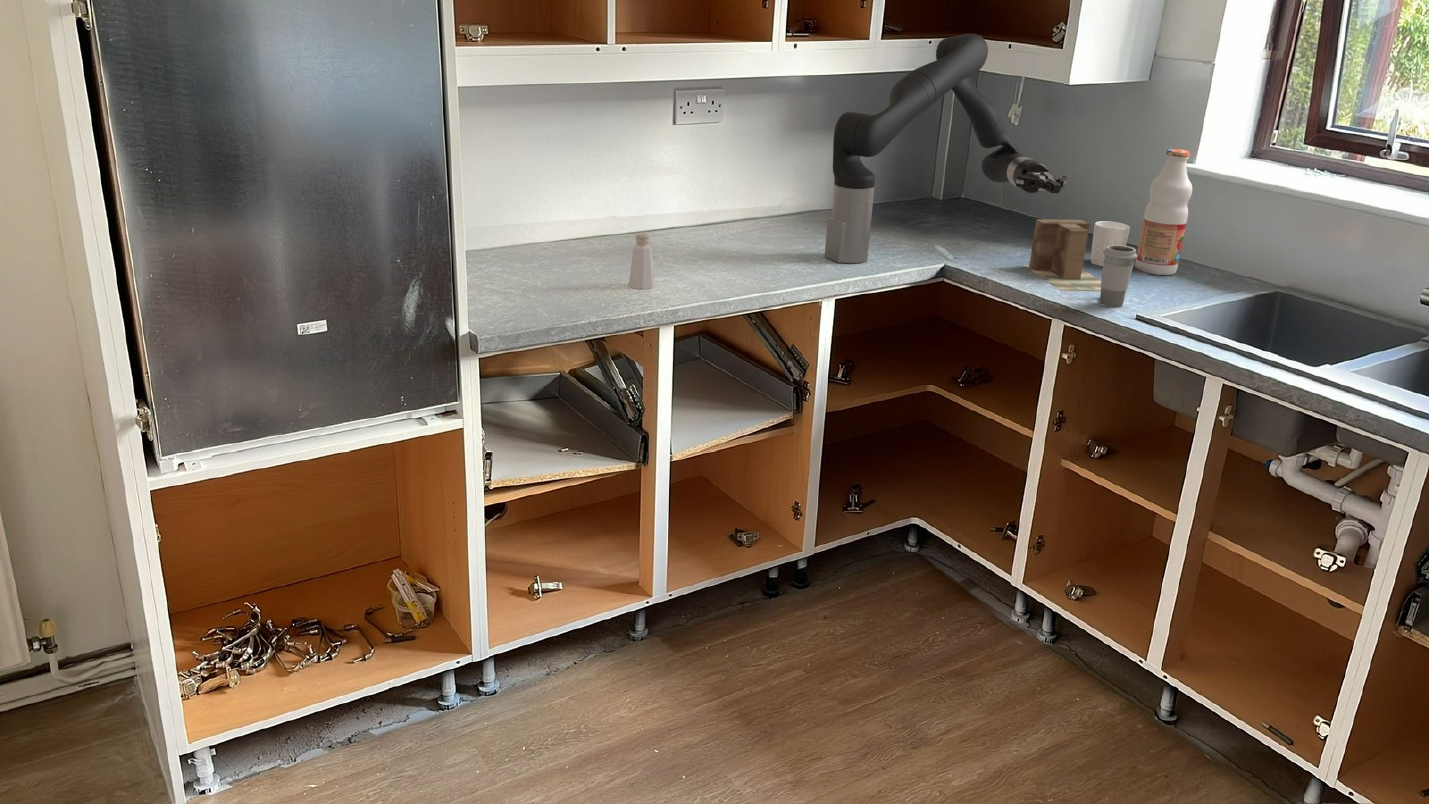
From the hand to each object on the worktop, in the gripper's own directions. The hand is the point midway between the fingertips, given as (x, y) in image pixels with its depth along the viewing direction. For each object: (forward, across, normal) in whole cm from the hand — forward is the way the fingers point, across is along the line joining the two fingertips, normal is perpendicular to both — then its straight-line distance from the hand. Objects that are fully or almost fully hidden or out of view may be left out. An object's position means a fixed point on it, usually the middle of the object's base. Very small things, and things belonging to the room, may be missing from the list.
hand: (1056, 188), depth 253 cm
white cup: (+1, +15, +18) cm, 24 cm away
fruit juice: (+4, +26, +18) cm, 32 cm away
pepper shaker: (+19, -97, +17) cm, 100 cm away
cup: (+31, +1, +18) cm, 36 cm away
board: (+14, 0, +18) cm, 23 cm away
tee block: (+10, 0, +17) cm, 20 cm away
